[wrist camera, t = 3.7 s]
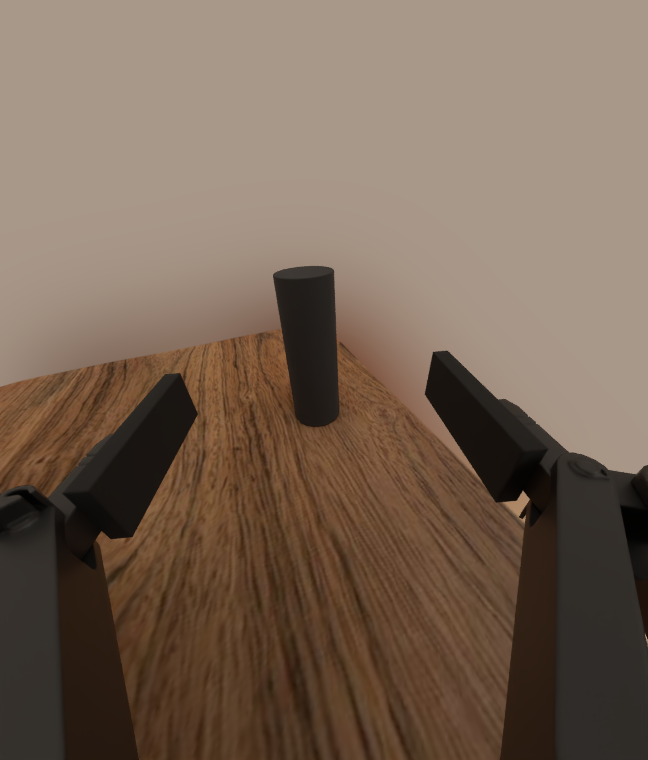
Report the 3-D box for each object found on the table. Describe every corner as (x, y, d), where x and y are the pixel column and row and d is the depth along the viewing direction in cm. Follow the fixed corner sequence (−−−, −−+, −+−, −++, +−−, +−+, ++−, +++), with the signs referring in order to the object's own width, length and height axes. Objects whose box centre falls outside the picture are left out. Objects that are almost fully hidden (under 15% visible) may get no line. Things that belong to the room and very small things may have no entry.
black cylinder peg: (344, 402, 24) (341, 266, 18) (330, 430, 21) (320, 279, 15) (306, 395, 26) (290, 265, 19) (287, 421, 23) (261, 278, 16)
